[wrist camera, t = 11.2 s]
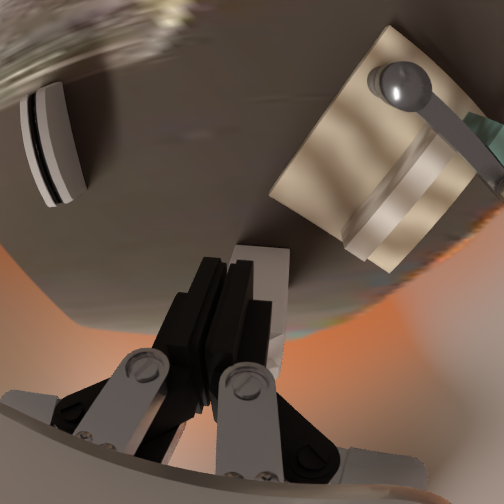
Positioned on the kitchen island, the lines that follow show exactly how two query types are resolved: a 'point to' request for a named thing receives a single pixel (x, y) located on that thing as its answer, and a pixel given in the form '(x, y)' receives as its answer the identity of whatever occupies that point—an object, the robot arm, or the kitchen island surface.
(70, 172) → the grey curved block
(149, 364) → the robot arm
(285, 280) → the milk carton
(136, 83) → the kitchen island surface
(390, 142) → the base
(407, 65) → the swing bar
